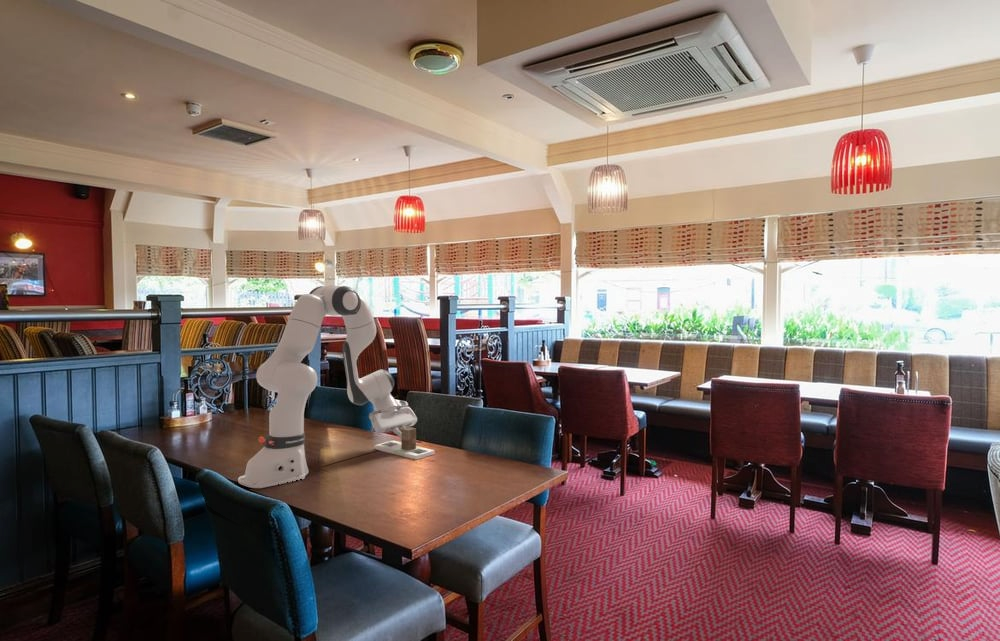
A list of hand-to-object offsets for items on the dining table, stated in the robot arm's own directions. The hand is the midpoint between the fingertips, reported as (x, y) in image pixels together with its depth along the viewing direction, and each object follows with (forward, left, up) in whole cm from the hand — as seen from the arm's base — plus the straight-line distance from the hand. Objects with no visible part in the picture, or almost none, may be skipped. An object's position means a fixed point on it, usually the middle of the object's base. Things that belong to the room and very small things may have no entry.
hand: (404, 436), depth 222 cm
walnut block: (0, -3, -4) cm, 5 cm away
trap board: (0, 0, -6) cm, 6 cm away
